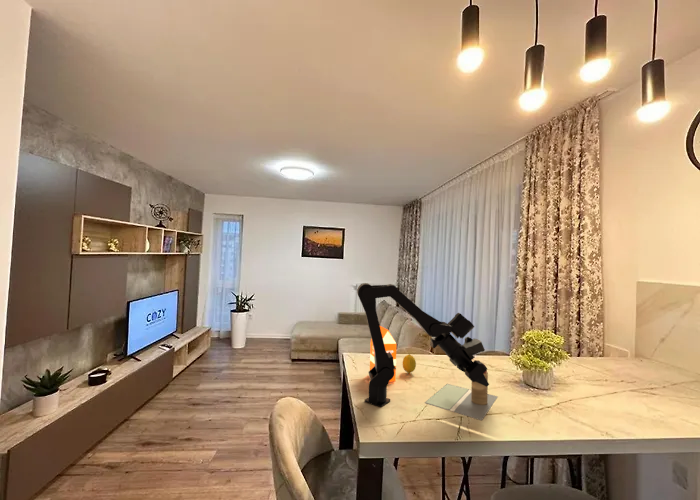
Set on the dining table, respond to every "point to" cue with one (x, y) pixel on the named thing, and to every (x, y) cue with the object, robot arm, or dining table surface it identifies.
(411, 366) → the lemon
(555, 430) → the dining table surface
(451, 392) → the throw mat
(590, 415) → the dining table surface
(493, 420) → the dining table surface
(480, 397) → the red topped wooden cylinder
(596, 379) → the dining table surface
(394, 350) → the orange juice
